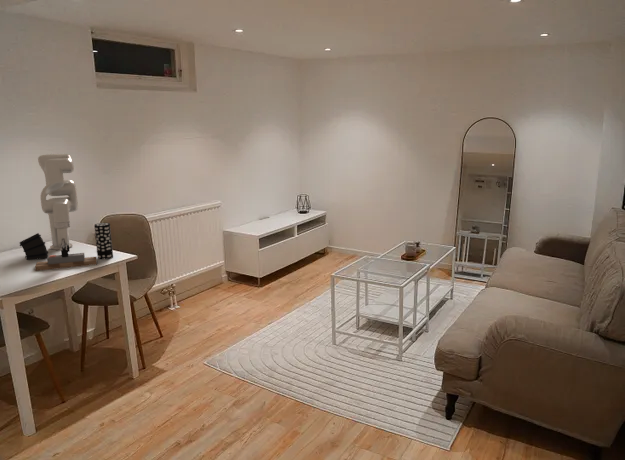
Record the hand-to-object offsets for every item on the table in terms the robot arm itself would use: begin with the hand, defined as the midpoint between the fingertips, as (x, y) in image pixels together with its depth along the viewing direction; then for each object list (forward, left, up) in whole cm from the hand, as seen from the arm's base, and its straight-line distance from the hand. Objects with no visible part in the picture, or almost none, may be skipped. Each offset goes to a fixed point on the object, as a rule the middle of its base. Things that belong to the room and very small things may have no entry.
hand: (65, 254), depth 266 cm
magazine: (-20, -18, -7) cm, 28 cm away
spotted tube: (-8, +20, -7) cm, 22 cm away
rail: (+1, 0, -6) cm, 6 cm away
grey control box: (+1, 0, -6) cm, 6 cm away
